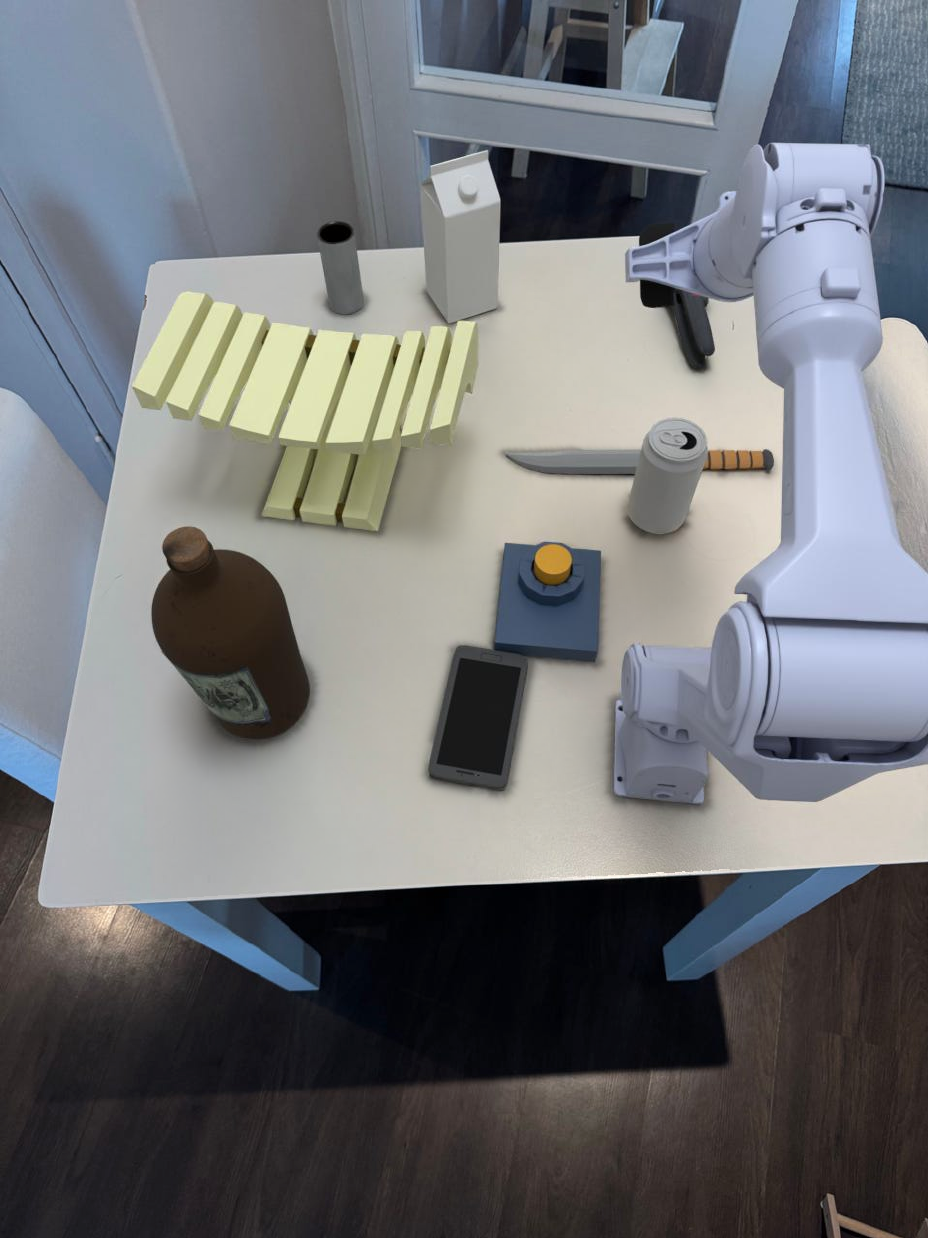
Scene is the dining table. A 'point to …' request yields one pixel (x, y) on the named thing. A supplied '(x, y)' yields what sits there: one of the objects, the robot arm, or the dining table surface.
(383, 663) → the dining table surface
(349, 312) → the gray cylinder
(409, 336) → the slatted curved stool
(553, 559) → the trigger button
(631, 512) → the beverage can
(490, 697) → the cell phone
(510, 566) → the button housing
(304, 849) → the dining table surface
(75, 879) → the dining table surface
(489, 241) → the milk carton
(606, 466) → the knife
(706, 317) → the can opener
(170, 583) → the brown bottle
